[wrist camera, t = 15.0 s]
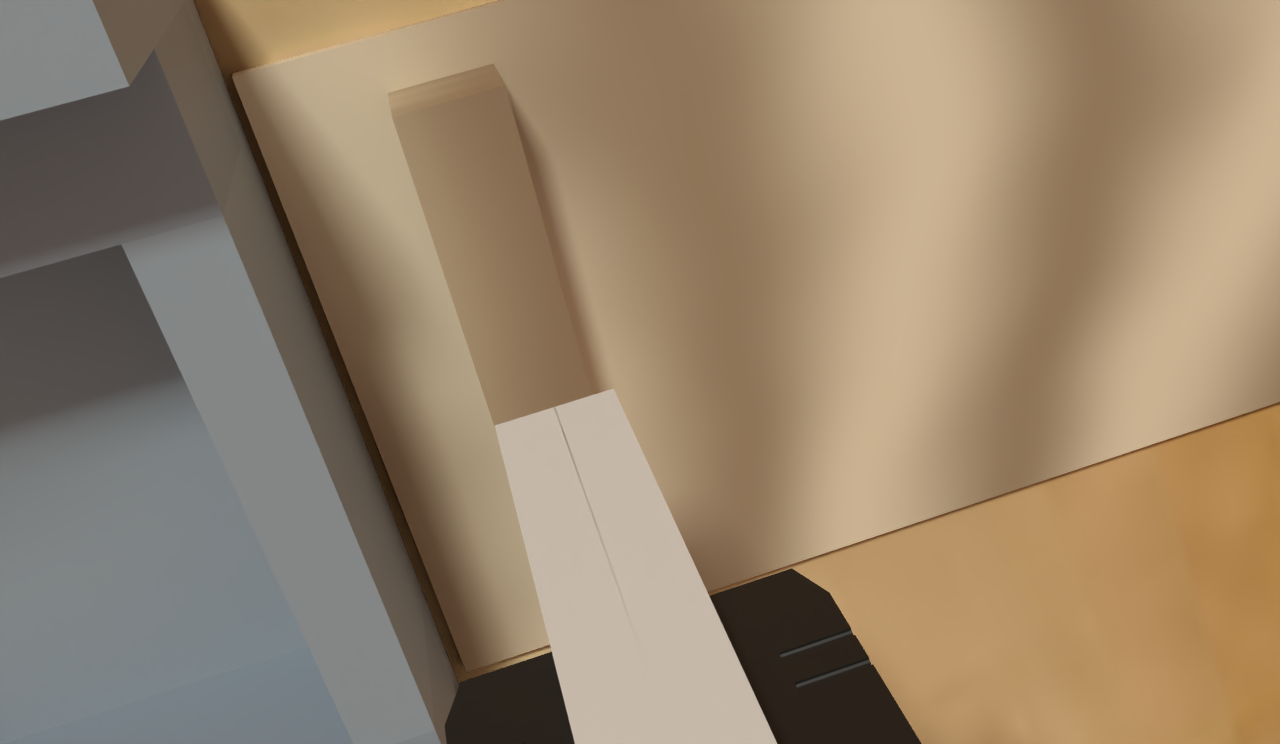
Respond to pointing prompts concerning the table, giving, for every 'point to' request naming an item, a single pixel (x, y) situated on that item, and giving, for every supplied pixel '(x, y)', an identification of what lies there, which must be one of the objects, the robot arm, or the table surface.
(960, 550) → the table surface
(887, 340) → the lid
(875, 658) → the table surface
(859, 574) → the table surface
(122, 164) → the pencil box
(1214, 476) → the table surface
